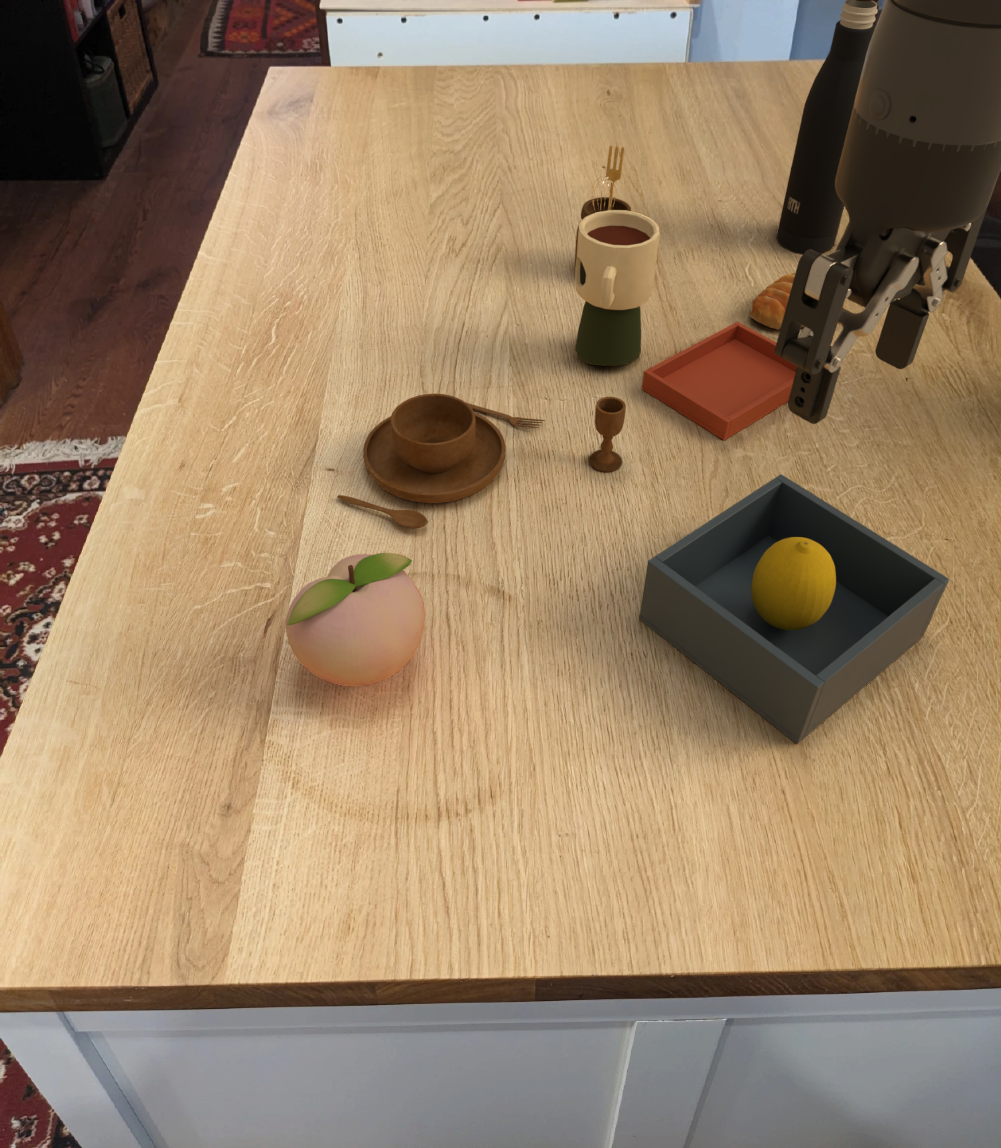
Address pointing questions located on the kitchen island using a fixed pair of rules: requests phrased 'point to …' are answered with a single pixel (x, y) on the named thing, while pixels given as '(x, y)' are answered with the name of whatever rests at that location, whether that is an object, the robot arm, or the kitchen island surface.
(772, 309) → the pastry
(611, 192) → the utensil holder
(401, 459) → the place setting
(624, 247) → the character mug
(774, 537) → the bin
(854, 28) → the black water bottle
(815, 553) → the lemon
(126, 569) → the kitchen island surface
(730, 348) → the tray
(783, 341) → the robot arm
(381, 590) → the decorative fruit
